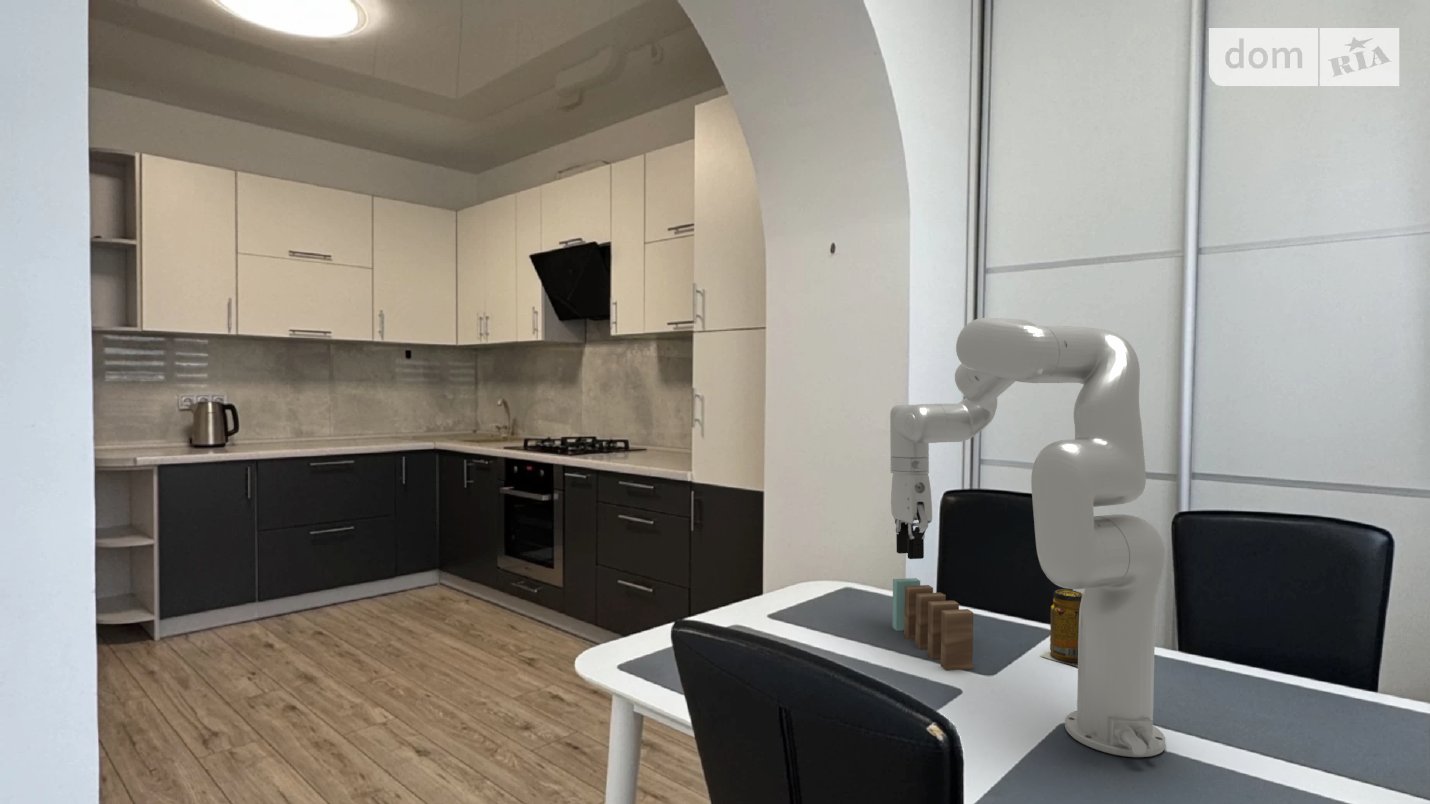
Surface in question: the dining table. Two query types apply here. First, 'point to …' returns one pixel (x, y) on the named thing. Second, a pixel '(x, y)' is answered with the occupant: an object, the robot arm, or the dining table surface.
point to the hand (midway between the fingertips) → (909, 554)
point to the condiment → (1065, 627)
